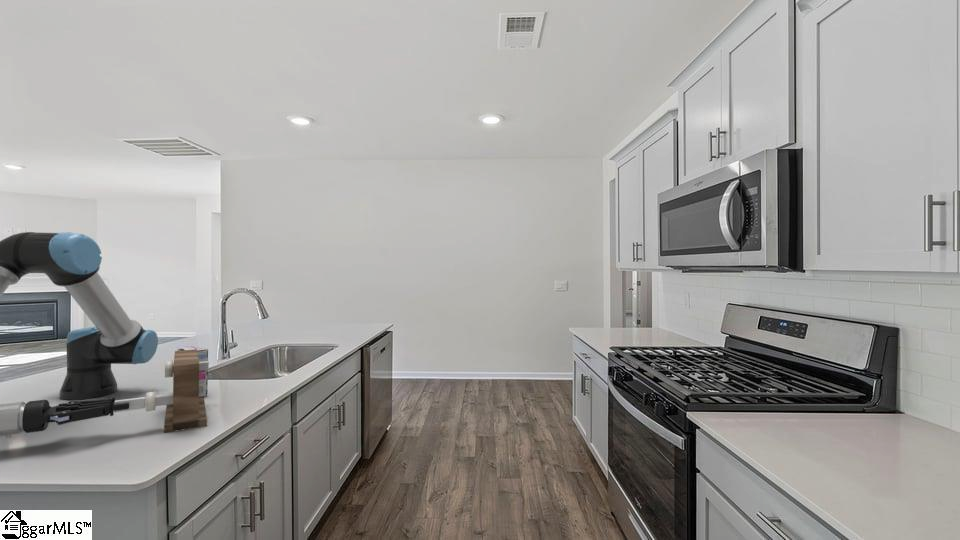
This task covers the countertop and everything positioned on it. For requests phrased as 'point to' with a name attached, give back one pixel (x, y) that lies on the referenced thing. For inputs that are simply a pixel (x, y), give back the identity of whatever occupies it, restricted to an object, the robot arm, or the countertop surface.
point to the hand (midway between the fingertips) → (144, 402)
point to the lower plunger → (157, 400)
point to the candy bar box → (204, 373)
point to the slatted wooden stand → (185, 394)
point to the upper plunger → (169, 364)
